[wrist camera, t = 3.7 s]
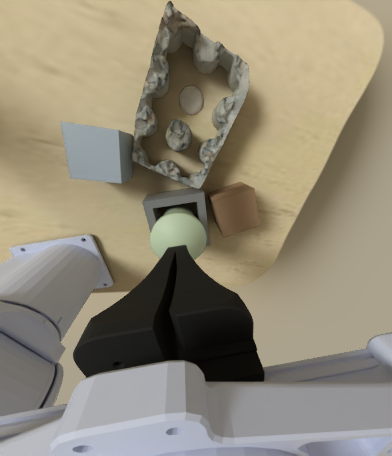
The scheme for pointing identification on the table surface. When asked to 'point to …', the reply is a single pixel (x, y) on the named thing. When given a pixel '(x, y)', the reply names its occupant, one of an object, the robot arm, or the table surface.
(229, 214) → the walnut block
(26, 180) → the table surface
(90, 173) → the slate-blue block
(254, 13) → the table surface
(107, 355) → the robot arm
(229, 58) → the egg carton
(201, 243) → the green button
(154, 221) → the button housing
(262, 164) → the table surface
